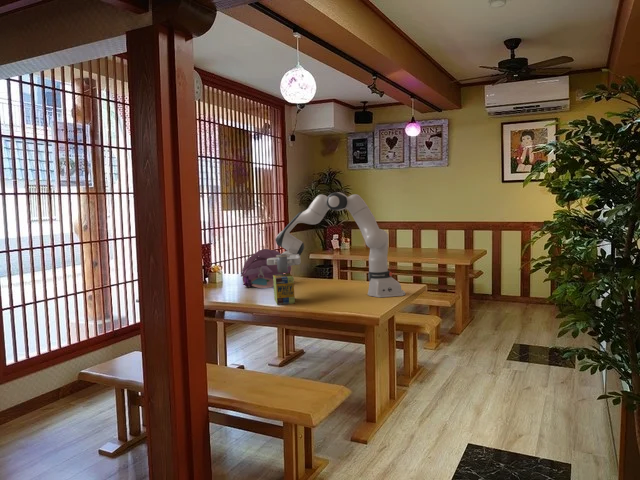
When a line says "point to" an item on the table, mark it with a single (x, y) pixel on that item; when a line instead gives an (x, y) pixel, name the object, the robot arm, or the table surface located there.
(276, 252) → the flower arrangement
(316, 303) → the table surface
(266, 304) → the table surface
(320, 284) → the table surface
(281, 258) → the tumbler
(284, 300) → the protein box
